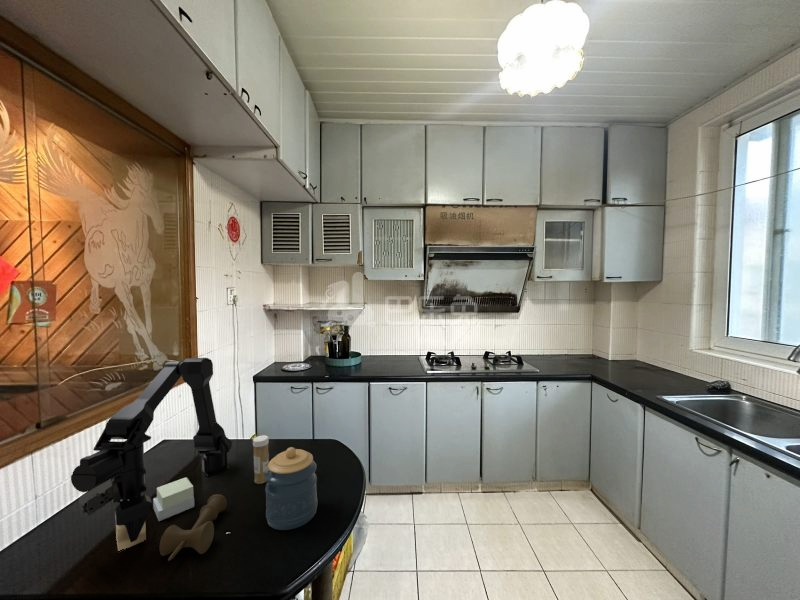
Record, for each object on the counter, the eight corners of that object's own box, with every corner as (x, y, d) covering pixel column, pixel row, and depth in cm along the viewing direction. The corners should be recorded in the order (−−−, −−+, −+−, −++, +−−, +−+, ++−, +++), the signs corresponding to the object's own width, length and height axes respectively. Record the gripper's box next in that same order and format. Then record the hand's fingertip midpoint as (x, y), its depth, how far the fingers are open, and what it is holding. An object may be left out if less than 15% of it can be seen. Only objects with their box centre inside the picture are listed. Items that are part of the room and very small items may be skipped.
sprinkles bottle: (271, 481, 101) (269, 438, 101) (255, 486, 98) (254, 442, 98) (268, 474, 105) (266, 433, 104) (252, 479, 102) (251, 437, 102)
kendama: (236, 511, 88) (192, 572, 68) (200, 514, 87) (145, 576, 67) (235, 489, 88) (191, 544, 68) (199, 492, 87) (144, 547, 67)
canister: (303, 492, 94) (301, 433, 94) (327, 513, 85) (325, 447, 85) (257, 514, 85) (256, 448, 85) (279, 540, 76) (277, 466, 76)
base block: (187, 496, 95) (187, 486, 95) (194, 508, 89) (194, 497, 89) (153, 509, 89) (153, 498, 89) (158, 523, 84) (158, 511, 84)
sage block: (186, 487, 94) (186, 477, 94) (193, 497, 89) (193, 486, 89) (156, 498, 89) (156, 487, 89) (162, 509, 84) (162, 498, 84)
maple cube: (142, 529, 81) (142, 510, 81) (146, 540, 77) (145, 519, 77) (116, 541, 77) (115, 520, 77) (118, 552, 74) (117, 530, 74)
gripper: (80, 465, 78) (82, 529, 78) (82, 498, 65) (85, 575, 65) (139, 449, 86) (141, 507, 86) (151, 475, 73) (153, 544, 73)
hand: (131, 531), depth 77 cm, fingers open, 9 cm apart
